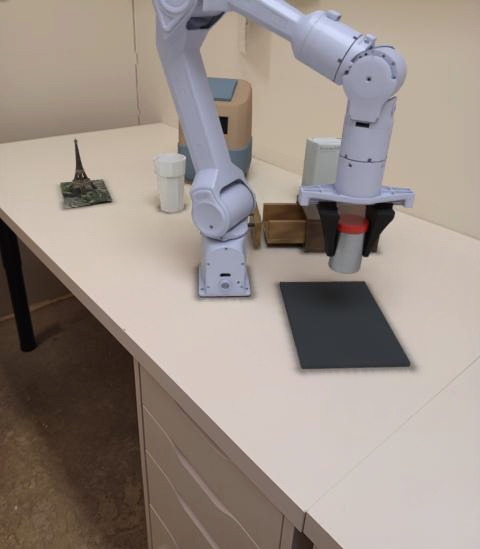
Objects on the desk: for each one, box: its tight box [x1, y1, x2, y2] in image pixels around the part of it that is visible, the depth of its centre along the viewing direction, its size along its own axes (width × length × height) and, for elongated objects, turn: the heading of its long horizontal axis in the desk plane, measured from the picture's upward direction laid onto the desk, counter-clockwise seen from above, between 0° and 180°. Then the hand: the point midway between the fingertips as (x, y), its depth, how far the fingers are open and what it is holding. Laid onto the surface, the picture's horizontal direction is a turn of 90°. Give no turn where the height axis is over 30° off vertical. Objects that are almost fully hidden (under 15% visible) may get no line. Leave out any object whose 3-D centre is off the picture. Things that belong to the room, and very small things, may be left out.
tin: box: [327, 214, 369, 275], centre depth 64 cm, size 4×4×7 cm
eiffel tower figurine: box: [60, 138, 113, 210], centre depth 105 cm, size 15×10×13 cm
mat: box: [279, 280, 411, 370], centre depth 68 cm, size 20×14×1 cm
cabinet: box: [295, 194, 381, 253], centre depth 91 cm, size 14×12×7 cm
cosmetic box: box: [300, 137, 342, 186], centre depth 102 cm, size 8×6×15 cm
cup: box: [152, 152, 186, 213], centre depth 100 cm, size 7×7×11 cm
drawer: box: [247, 200, 307, 247], centre depth 90 cm, size 17×10×5 cm, turn 94°
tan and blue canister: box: [177, 76, 253, 184], centre depth 115 cm, size 17×17×23 cm
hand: (346, 253), depth 65 cm, fingers closed on tin, 4 cm apart
